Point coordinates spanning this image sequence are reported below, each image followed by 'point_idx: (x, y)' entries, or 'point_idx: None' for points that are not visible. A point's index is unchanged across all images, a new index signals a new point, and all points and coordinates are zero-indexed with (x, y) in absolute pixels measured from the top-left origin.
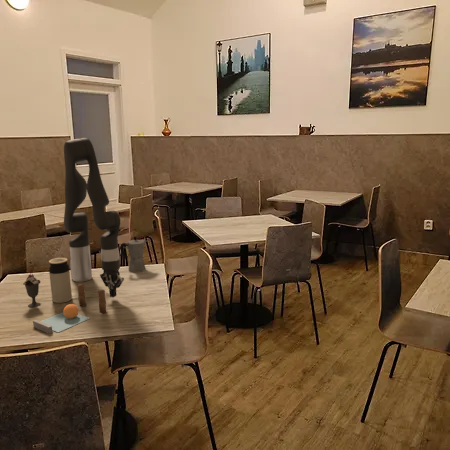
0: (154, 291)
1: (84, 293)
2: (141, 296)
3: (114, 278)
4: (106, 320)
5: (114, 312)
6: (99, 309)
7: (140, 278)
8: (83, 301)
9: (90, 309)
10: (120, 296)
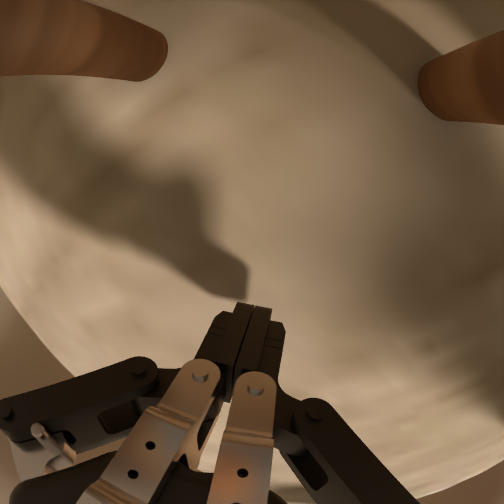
0: None
1: (494, 71)
2: None
3: (68, 474)
4: None
5: (74, 109)
6: (140, 23)
7: None
8: (441, 61)
9: (296, 30)
10: None
